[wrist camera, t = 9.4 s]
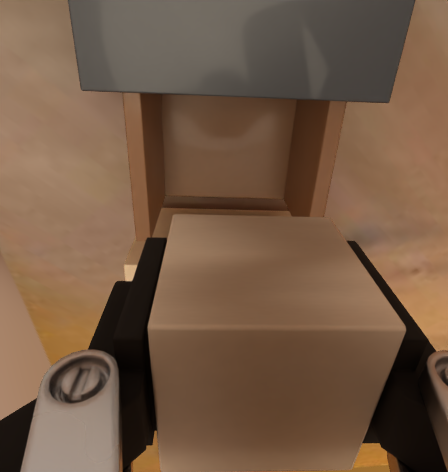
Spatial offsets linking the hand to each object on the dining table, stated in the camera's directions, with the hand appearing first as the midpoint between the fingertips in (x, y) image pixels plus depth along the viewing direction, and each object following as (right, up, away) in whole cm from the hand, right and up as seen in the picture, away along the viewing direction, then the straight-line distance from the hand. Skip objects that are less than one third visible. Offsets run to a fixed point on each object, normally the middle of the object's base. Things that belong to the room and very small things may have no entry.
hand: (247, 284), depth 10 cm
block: (0, 0, 0) cm, 0 cm away
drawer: (-1, +7, +14) cm, 16 cm away
